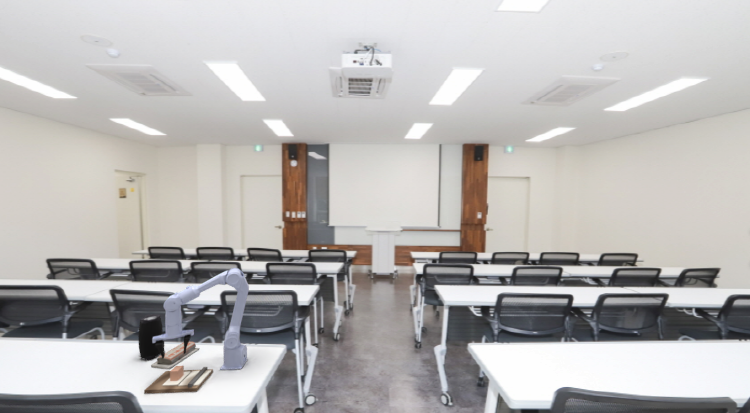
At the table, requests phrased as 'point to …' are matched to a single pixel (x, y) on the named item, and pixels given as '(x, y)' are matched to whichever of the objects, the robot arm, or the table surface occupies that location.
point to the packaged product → (175, 356)
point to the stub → (176, 376)
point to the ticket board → (187, 385)
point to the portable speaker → (149, 336)
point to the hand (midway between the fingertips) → (174, 354)
